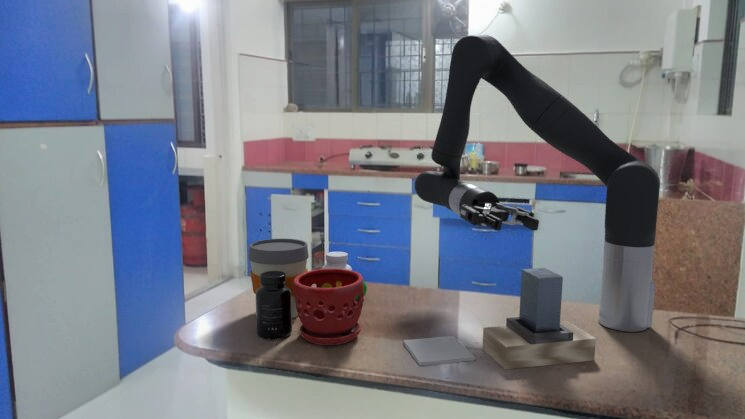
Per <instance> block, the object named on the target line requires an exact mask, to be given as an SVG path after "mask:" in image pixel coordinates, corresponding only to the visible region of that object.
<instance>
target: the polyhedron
mask: <svg viewBox="0 0 745 419" xmlns="http://www.w3.org/2000/svg"><path fill="white" fill-rule="evenodd" d="M363 284H364V297H365V296H366V293H367V289H368V286H367V283H366V282H365V281H364V280H363ZM355 300H356V301H358V295H357V296H356V297H355Z"/></svg>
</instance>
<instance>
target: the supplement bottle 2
mask: <svg viewBox="0 0 745 419" xmlns="http://www.w3.org/2000/svg"><path fill="white" fill-rule="evenodd" d="M348 257H349V253H347V252H344V251H329V252H327V253H326V254H325V261H326V264H324V265H323V266H322V267H321V269H346V270H351V271H353V269H352V266H351V265H349V264H348V260H349V258H348ZM336 286H337V287H341V286H342V283H341V282H340V281H337V282H336ZM322 288H332V286H331V285H330V284H329V283H325V284H323V285H322Z"/></svg>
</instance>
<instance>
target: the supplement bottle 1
mask: <svg viewBox="0 0 745 419" xmlns="http://www.w3.org/2000/svg"><path fill="white" fill-rule="evenodd" d="M285 284H286V274H285V273H284V272H281V271H268V272H264V273H262V274H261V275H260V285H262V286H261V287H259V288H258V289H257V291H256V294H255V317H256V319H255V321H256V323H255V324H256V334H257V336H258V337H260V338H261V339H264V340H272V341H273V340H281V339H285V338H287V337H289V336H290V335H291V334H292V332H293V318H292V296H291V290H290V288H289V287H288V286H286V285H285Z"/></svg>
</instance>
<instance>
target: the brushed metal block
mask: <svg viewBox="0 0 745 419" xmlns="http://www.w3.org/2000/svg"><path fill="white" fill-rule="evenodd" d="M520 278H521V280H520V295H519V296H520V297H519V314H518V315H519V316H518V317H519V323H520V324H521V325H522V326H524V327H525V328H527V329H528V330H529V331H531V332H532V333H544V332H556V331H559V330H560V321H561V310H562V298H563V297H562V295H563V280H564V276H562V275H560V274H558V273H555V272H554V271H552V270H550V269H547V268H546V267H539V268H538V267H537V268H522V269H521V277H520Z"/></svg>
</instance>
